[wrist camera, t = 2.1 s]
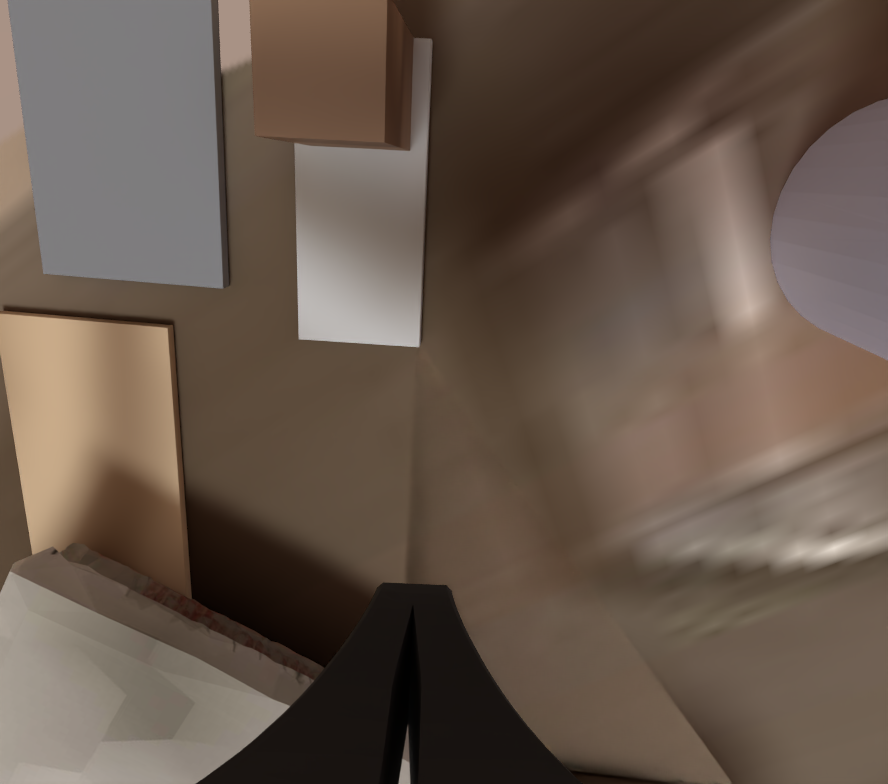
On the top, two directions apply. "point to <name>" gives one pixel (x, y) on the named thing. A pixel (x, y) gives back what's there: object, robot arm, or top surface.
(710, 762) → the top surface
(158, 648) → the packaged product
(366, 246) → the brown and white block
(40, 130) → the slate pad
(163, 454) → the cork trivet
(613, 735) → the top surface
